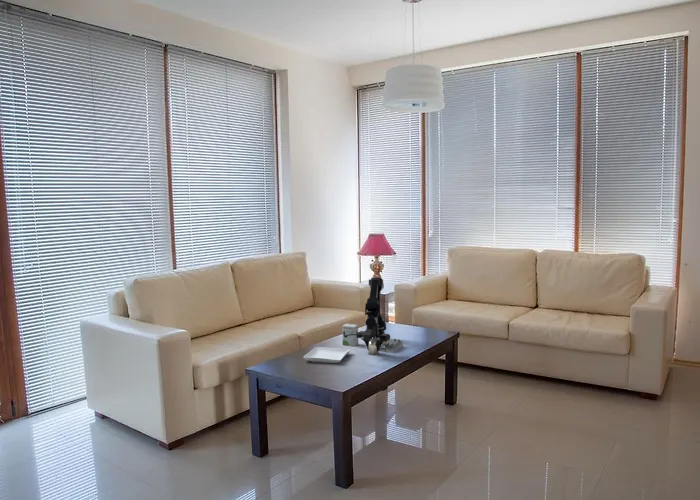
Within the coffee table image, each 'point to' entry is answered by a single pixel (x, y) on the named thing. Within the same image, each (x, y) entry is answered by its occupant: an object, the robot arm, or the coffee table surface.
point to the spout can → (372, 347)
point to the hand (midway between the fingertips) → (373, 351)
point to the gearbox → (391, 345)
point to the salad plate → (326, 354)
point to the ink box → (350, 334)
